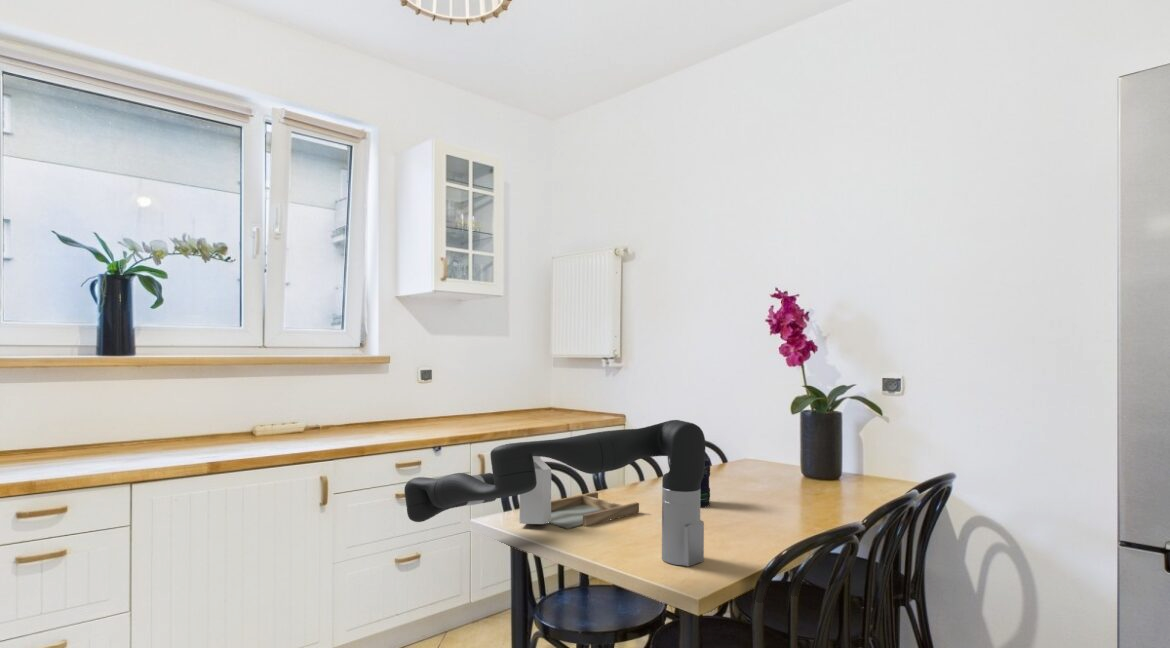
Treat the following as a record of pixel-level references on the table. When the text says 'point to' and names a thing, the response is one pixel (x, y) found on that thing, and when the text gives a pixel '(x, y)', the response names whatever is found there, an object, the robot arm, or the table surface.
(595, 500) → the tray
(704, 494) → the dark blue barrel
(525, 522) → the milk carton
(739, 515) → the table surface
